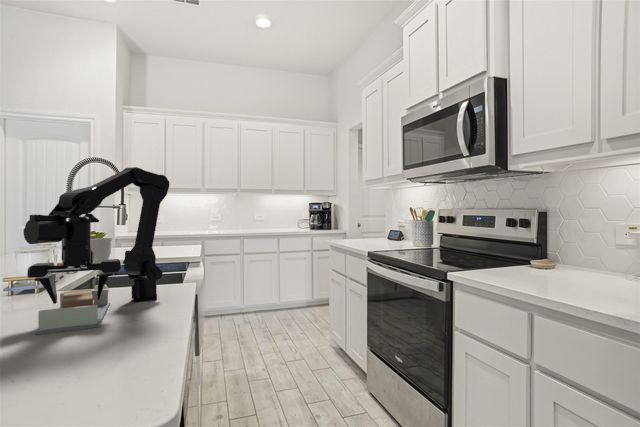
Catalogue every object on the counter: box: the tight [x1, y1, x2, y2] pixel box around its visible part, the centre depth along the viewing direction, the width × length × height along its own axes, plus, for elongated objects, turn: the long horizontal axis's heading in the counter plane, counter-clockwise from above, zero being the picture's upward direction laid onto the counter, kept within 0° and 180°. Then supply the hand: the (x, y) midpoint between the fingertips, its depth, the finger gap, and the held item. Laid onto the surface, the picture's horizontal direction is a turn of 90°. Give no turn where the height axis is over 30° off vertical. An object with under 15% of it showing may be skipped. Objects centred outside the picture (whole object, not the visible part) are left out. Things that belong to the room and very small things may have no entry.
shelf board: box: [62, 288, 93, 308], centre depth 86 cm, size 14×6×3 cm, turn 36°
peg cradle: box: [34, 288, 111, 336], centre depth 86 cm, size 12×20×5 cm, turn 26°
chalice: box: [91, 237, 113, 293], centre depth 114 cm, size 7×7×18 cm
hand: (77, 301), depth 86 cm, fingers open, 9 cm apart
